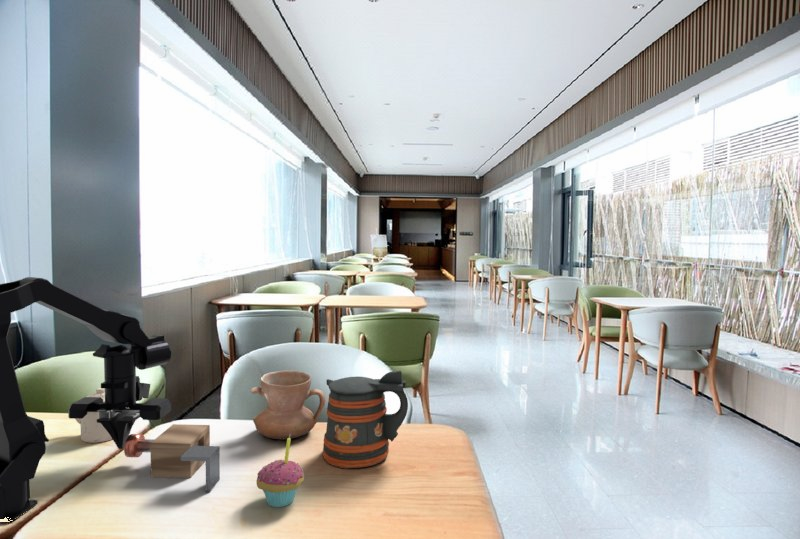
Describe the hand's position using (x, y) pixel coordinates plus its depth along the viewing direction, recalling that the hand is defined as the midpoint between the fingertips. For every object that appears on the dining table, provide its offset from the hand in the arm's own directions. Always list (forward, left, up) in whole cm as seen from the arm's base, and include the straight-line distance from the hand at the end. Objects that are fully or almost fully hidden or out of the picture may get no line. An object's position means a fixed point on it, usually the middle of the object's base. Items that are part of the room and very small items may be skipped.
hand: (121, 448), depth 107 cm
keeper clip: (-8, -20, -4) cm, 21 cm away
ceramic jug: (+19, -31, -4) cm, 36 cm away
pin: (0, -9, -2) cm, 9 cm away
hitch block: (0, -13, -4) cm, 13 cm away
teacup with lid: (+15, +14, -4) cm, 21 cm away
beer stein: (+7, -51, -4) cm, 51 cm away
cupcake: (-13, -37, -4) cm, 39 cm away
